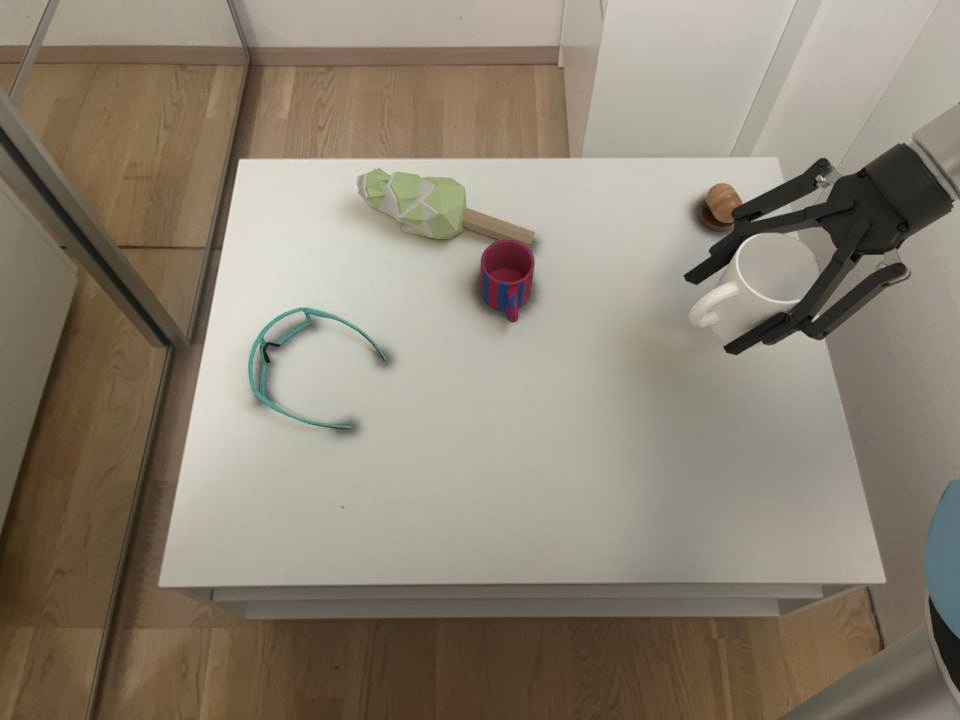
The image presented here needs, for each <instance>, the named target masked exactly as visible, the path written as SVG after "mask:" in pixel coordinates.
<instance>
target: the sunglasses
mask: <svg viewBox="0 0 960 720" xmlns="http://www.w3.org/2000/svg"><path fill="white" fill-rule="evenodd" d="M301 312H302V313H304V315H305V319H306V321H305V322H303V323H301V324H300V325H298V326H297V327H294V328H293V329H292V330H290V331H289V332H288V333H286V334H285V335H284V336H283V337H281V338H280V339H279V340H278V341H277V342H275V341H268V340H267V341H266V340H265V335H266V334H267V333H268V331H269V330H270V329H271V328H272V327H273V326H274V325H275V324H276V323H278V322H279V321H281V320H282V319H284V318H287V317H288V316H291V315H294V314H295V313H301ZM311 316H315V317H318V318H325V319H330V320H334V321H336V322H340V323H341V324H343V325H345V326H347V327H349V328H350V329H352V330H354V331H355V332H357V333H359V334H360V335H361V336H362V337H364V338H365V339H366V340H367V341H368V342H369V343H370V344H371V345H372V347H373V348H374V349H375V350H376V351H377V352H378V353H379V355H380V356H381V358H382V359H383V360H384V361H386V362H388V358H387V357H386V356H385V354H384V353H383V352H382V350H381V349H380V348H379V347H378V345H377V343H375V342H374V340H372V338H371V337H370V336H369V335H367V333H365V332H364V331H363V330H361V329H360V328H359V327H358V326H355V325H354V324H352V323H350V322H348V321H346V320H344V319H343V318H340V317H338V316H336V315H333V314H331V313H328V312H326V311H322V310H319V309H318V310H317V309H314V308H311V307H296V308H293V309H290V310H288V311H284V312H283V313H281V314H279V315H277V316H276V317H274V318H273V319H272V320H271V321H269V322H268V323H267V324H266V325H265V326H264V327H263V328H262V329H261V331H260V332H259V333H258V334H257V337H256V338H255V340H254V342H253V344H252V347H251V350H250V352H249V356H248V366H247V367H248V368H247V370H248V371H247V373H248V378H249V383H250V387H251V391H252V393H253V396H254V397H255V398H256V399H258V400H259V401H260V402H261V403H263V404H264V405H265V406H266V407H268V408H270V409H271V410H273V411H276V412H277V413H279V414H281V415H283V416H286V417H289V418H291V419H294V420H296V421H298V422H301V423H304V424H308V425H312V426H318V427H323V428H331V429H345V430H346V429H352V428H353V426H351V425H339V424H329V423H322V422H316V421H312V420H308V419H305V418H300V417H298V416H296V415H293V414H291V413H289V412H287V411H285V410H284V409H282V408H280V406H277V405H275V404H274V403H273V402H271V401H270V400H269V399H268V398H267V397H266V392H265V383H266V382H265V381H266V373H267V369H268V364H269V363H271V360H270V357H269V354H268V351H267V348H268V347H269V346H272V347H276V348H280V346H281V345H282V344H283V343H284V342H285V341H287V340H288V339H289V338H290V337H292V336H293V335H294V334H296V333H298V332H299V331H301V330H303V329H304V328H306V327H308V326H311V324H312V320H311V319H312V318H311ZM258 348H259V354H260V359H261V362H262V368H261V371H260V379H259V391H258V389H257V387H256V384H255V380H254V369H253V368H254V359H255V354H256V352H257V349H258Z"/></svg>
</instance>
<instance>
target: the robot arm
mask: <svg viewBox="0 0 960 720" xmlns="http://www.w3.org/2000/svg"><path fill="white" fill-rule="evenodd" d="M911 140H912V141H911V142H909V143H908V144H906V142H902V143H900V142H897V143H896V144H895V145H893V146H892V147H891V148H889V149H888V150H886V151H885V152H883V153H881V154H880V155H879V156H877V157H875V159H873V160H872V161H869V162H868V163H867V164H866V165H864V166H863V167H862V168H860V170H858V171H856V172H854V173H851V174H845V175H842V174H841V173H840V172H839V171H838V170H837V169H836V167H835V166H834V165H833V164H832V162H831V161H830V160H829V159H828V158H826V157H820V158H818V159H817V160H816V161H815V162H814V163H813V164H811V166H809V167H808V168H807V169H806V170H805V171H803V173H801V174H799V175H797V176H795V177H793V178H791V179H790V180H787V181H786V182H784V183H781V184H780V185H777V186H776V187H774V188H772V189H770V190H768V191H765V192H764V193H762V194H759V195H758V196H756V197H754V198H752V199H750V200H748V201H746V202H744V203H743V204H742V205H740V206H738V207H736V208H734V209H733V210H732V212H731V216H732V217H733V219H734V226H733V229H732V231H731V232H730V233H728V234H727V235H725V236H724V237H723V238H721V239H720V240H718V241H717V242H716V243H714V244H712V246H710V248H709V249H708V253H709V255H710V256H709V257H708V258H706V259H705V260H703V261H702V262H700V263H699V264H697V265H696V266H695V267H693V268H692V269H690V270H689V271H687V272H686V273H685V274H683V275H682V276H683V278H684V280H685V282H687V283H689V284H692V285H695V286H698V285H700V284H701V283H703V282H705V281H706V280H707V279H709V278H711V277H712V276H713V275H715V274H716V273H718V272H719V271H721V270H722V269H724V268H725V267H727V266H728V265H729V263H730V261H731V260H732V258H733V256H734V255H735V253H736V251H737V250H738V248H739V247H740V245H741V244H742V243H743V242H744V241H745V240H747V239H748V238H750V237H752V236H754V235H756V234H760V233H782V234H788V233H793V232H797V231H802V230H807V229H811V228H822V229H823V230H824V231H825V232H827V234H829V237H830V240H831V242H832V244H833V246H834V247H835V248H836V250H835V251H834V253H833V254H832V255H831V258H830V261H829V262H828V264H827V265H826V267H825V268H824V269H823V270H822V271H821V275H820V276H819V277H818V279H817V280H816V281H815V283H814V284H813V285H812V287H811V288H810V289H809V291H808V292H807V293H806V295H805V296H804V298H803V299H802V300H801V302H800V303H799V304H798V306H797V307H796V308H795V310H794V311H793V312H792V314H791V315H788V314H786V313H784V312H780V313H778V314H776V315H775V316H773V317H771V318H770V319H768V320H766V321H765V322H763V323H761V324H760V325H758V326H756V327H755V328H753V329H751V330H750V331H748V332H746V333H745V334H743V335H741V336H740V337H738V338H736V339H735V340H733V341H731V342H730V343H727V344H724V345H723V346H722V348H723V349H724V351H725V353H726V354H729V355H734V356H738V355H740V354H741V353H744V352H745V351H747V350H748V349H751V348H750V347H752V346H753V345H755V344H757V343H759V342H760V341H762V343H763V344H764V345H766V346H774V345H776V344H778V343H780V342H781V341H783V340H785V339H786V338H788V337H790V336H792V335H793V334H795V333H797V332H801V333H803V334H804V335H805V336H806V337H808V338H810V339H813V340H815V341H823V340H824V339H825V338H827V337H828V336H829V335H831V333H833V332H834V331H835V330H836V329H838V328H839V327H840V326H841V325H842V324H844V323H845V322H846V321H847V320H848V319H850V318H851V317H852V316H853V315H855V314H856V313H857V312H858V311H860V310H861V309H862V308H863V307H865V306H866V305H867V304H868V303H870V302H871V301H872V300H873V299H875V298H876V297H877V296H879V295H880V294H881V293H882V292H883V291H884V290H886V289H887V288H890V287H892V286H895V285H897V284H900V283H902V282H905V281H907V280H908V279H910V278H911V276H912V271H911V270H910V268H909V267H908V266H907V265H905V263H904V260H903V259H902V257H901V254H900V252H899V250H900V248H901V247H902V245H903V244H904V242H905V241H906V240H907V239H909V238H910V237H912V236H913V235H915V234H917V233H919V232H920V231H922V230H924V229H925V228H927V227H928V226H930V225H932V224H933V223H935V222H937V221H938V220H940V219H942V218H944V217H945V216H948V214H950V213H952V212H953V210H952V209H954V204H953V203H954V202H956V201H960V101H959V102H958V103H956V104H954V105H953V106H951V107H950V108H947V110H945V111H944V112H942V113H941V114H939V115H938V116H936V117H935V118H933V119H932V120H930V121H928V122H927V123H926V124H924V125H922V126H921V127H920V128H918V129H916V130H915V131H913V132H912V134H911ZM830 186H832V188H831V190H830V192H829V194H828V196H827V198H826V201H825V202H821V203H817V204H813V205H808V206H806V207H804V208H803V209H800V210H795V211H791V212H787V213H783V214H779V215H775V216H770V217H766V218H763V217H764V216H767V215H768V214H771V213H773V212H775V211H777V210H779V209H781V208H783V207H785V206H787V205H789V204H792V203H793V202H795V201H798V200H800V199H801V198H804V197H805V196H808V195H810V194H812V193H813V192H815V191H817V190H819V189H820V190H821V189H822V190H823V189H826V188H828V187H830ZM760 218H763V219H760ZM864 256H883V259H882V260H881V261H880V262H878V263H877V264H876V267H875V271H874V272H872V273H871V274H869V275H868V276H866V277H865V278H863V279H862V280H861V281H860V282H859V283H858V284H856V285H855V286H854V287H853V288H851V289H850V290H849V291H848V292H847V293H846V294H845V295H844V296H842V297H841V298H839V299H838V300H837V301H836V302H835V303H834V304H832V305H831V306H830V307H829V308H827V309H826V310H825V311H824V312H822V314H820V315H819V316H818V314H819V312H820V311H821V310H822V308H823V307H824V306H825V304H826V303H827V302H828V301H829V299H830V298H831V296H832V295H833V294H834V292H835V291H836V290H837V289H838V288H839V286H840V285H841V283H842V282H843V281H844V279H845V278H846V276H847V275H848V274H849V273H850V272H851V271H852V270H854V269H855V268H856V266H857V264H859V262H860V261H861V260H862V259H863V257H864ZM816 316H818V317H817V318H816ZM815 318H816V319H815ZM923 551H924V552H923V569H924V570H923V571H924V572H923V573H924V579H925V584H926V585H925V589H924V598H923V612H924V622H923V623H921V624H920V625H918V626H917V627H915V628H914V629H912V630H910V631H909V632H908V633H906V634H905V635H903V636H901V637H900V638H898V639H897V640H896V641H894V642H892V643H891V644H889V645H888V646H886V647H885V648H884V649H882V650H880V651H879V652H877V653H876V654H873V656H871V657H870V658H868V659H867V660H865V661H864V662H861V664H859V665H858V666H856V667H855V668H853V669H852V670H850V671H848V672H847V673H845V674H844V675H842V676H841V677H839V678H837V680H835V681H833V682H831V683H830V684H829V685H827V686H826V687H824V688H823V689H821V690H819V691H818V692H816V694H814V695H811V696H810V697H809V698H808V699H806V700H804V701H803V702H801V703H800V704H799V705H797V706H795V707H794V708H792V709H791V710H789V711H787V712H786V713H785V714H783V715H782V716H780V717H779V718H777V719H776V720H960V477H959V478H956V479H952V480H950V481H949V482H947V485H946V486H945V488H944V491H943V492H942V493H941V496H940V498H939V499H938V502H937V503H936V505H935V508H934V511H933V513H932V516H931V519H930V522H929V524H928V529H927V533H926V538H925V543H924V550H923Z"/></svg>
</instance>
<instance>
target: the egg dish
mask: <svg viewBox="0 0 960 720" xmlns="http://www.w3.org/2000/svg"><path fill="white" fill-rule="evenodd" d="M742 204H744V203H743V200H742V198H741V197H740V195H739V193H738V192H737V191H736V189H735V187H734V186H732V185H731V184H730V183H727V182H726V183H725V182H721V183H716V184H714V185H712V186H711V187H710V188H709V190H708V191H707V193H706V196H705V201H704V202H703V203H702V204H701V206H700V208H699V211H698V217H699V221H700V222H701V223H702V225H703V226H704V227H706V228H707V229H709V230H711V231H714V232H726V231H729V230H731V229H732V228H734V227H735V225H734V219H733V217H732V216H731V212H732V210H733V209H734V208H736V207H738V206H740V205H742Z"/></svg>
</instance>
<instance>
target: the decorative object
mask: <svg viewBox="0 0 960 720" xmlns="http://www.w3.org/2000/svg"><path fill="white" fill-rule="evenodd" d="M356 186H357V188H358V190H357V191H358V192H357V194H358V195H359V196H361V197H362V198H363V200H364V201H365V203H367V204H368V205H369V206H370V207H371V208H372V209H373V208H375V209H376V210H377V211H380V212H382V213H384V214H387V215H388V216H391V217H393V218H394V219H395V221H396V222H398V223H401V224H403V226H402V228H401V231H402V232H405V233H410V234H413V235H418V236H422V237H425V238H426V237H427V238H431V239H435V240H447V239H450V240H451V239H452V238H454V237H455V236H457V235H459V234H461V233H462V232H464V231H465V229H466V230H467V229H468V230H471V231H473V232H476V233H479V234H481V235H484V236H487V237H490V238H494V239H496V240H498V241H500V240H514V241H518V242H520V243H522V244H524V245H525V246H527V247H528V248H529V249H531V245H532V243H533V241H534V238H535V234H536V232H535V231H534V230H530V229H527V228H525V227H522V226H520V225H516V224H513V223H511V222H508V221H505V220H502V219H499V218H497V217H494V216H491V215H488V214H486V213H482V212H479V211H476V210H474V209H471V208H469V207H467V195H466V187H465V186H464V185H462V184H461V183H460V182H459V181H457V180H456V179H454V177H445V176H444V177H442V176H424V177H421V176H420V175H419V174H416V173H410V172H403V171H396V172H391V174H389V173H387V172H386V171H385V170H383V169H382V168H380V167H378V168H374V169H373V170H371V171H368V172H366V173H363V174H360V175H357V178H356Z"/></svg>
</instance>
